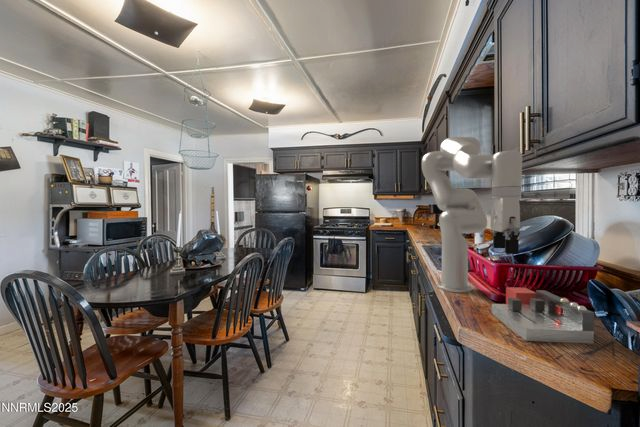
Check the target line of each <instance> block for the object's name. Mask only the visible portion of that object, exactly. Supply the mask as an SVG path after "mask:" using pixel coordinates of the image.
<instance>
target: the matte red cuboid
mask: <svg viewBox="0 0 640 427" xmlns="http://www.w3.org/2000/svg"><path fill="white" fill-rule="evenodd" d="M508 298H518V299H520V300H522V305H530V298H536V291H534V290H531V289H530V288H527V287H519V286H518V287H512V286H511V287H510V286H506V287H505V304H508Z"/></svg>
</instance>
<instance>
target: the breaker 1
mask: <svg viewBox="0 0 640 427" xmlns="http://www.w3.org/2000/svg"><path fill="white" fill-rule="evenodd" d="M508 308H509V309H511V310H512V311H522V300H520V299H518V298H508Z"/></svg>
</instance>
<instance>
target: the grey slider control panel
mask: <svg viewBox="0 0 640 427" xmlns="http://www.w3.org/2000/svg"><path fill="white" fill-rule="evenodd" d="M535 293H536V298H539V299H541V300H543V301H545V308H544V312H537V311H534V310H532V309H530V305H522V311H512V310H511V309H509V308H508V304H506V303H491V314H492V315H493V316H494V317H495V318H497V320H500V322H502V323H503V324H504V325H506V326H507V327H508V328H509V329H510V330H511V331H513V332H514V333H515V334H517V335H518V336H520V337H521V338H522V339H523V340H525V341H526V342H542V343H543V342H545V343H546V342H547V343H550V342H551V343H566V344H567V343H571V344H572V343H573V344H594V340H595V338H594V337H595V336H594V334H595V312H594V311H591V310H590V309H587V308H586V306H584V305H579V304H578V303H577V302H572V301H569V299H568V298H566V297H561V296H558V295H556V294H553V293H552V292H549V291H547V290H544V289H543V290H542V289H540V290H539V289H538V290H537V289H536V290H535Z"/></svg>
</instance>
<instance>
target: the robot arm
mask: <svg viewBox="0 0 640 427" xmlns="http://www.w3.org/2000/svg"><path fill="white" fill-rule="evenodd" d="M440 143H441V144H440V146H439V147H440V148H439V149H440V150H437V151H436V150H435V151H429V152H427V153H425V154H424V155H423V156H422V159H421V172H422V174H423V178H425V179H424V180H426V182H427V183H428V185H429V186H430V189H431V192H432V195H433V197H434V198H433V199H434V201H435V204H436V206H437V208H438V209H439V210H441V211H442V212H441V213H440V214H439V218H438V220H439V221H438V224H439V230H440V237H441V281H440V282H438V283H437V288H438V289H440V290H443V291H446V292H450V293H459V294H464V293H470V292H472V291H473V286H471V285H470V284H469V282H468V281H469V266H468V265H469V245H468V242H467V240H466V239H465V238H466V237H464V236H463V234H480V233H482V232H484V231H485V230H486V229H487V227H488V217H487V215H486V213H485V210H484V207H483V205H482V203H481V202H480V199H479V196H478V195H477V193H476V192H475V191H474V190H473V189H470V188H463V187H461V188H459V187H458V188H457V187H455V186H454V185H453V182H452V180H451V178H450V177H448V175H446V174H445V173H443V172H444V171H447V172H449V171H451V172H452V171H455V172H456V173H457V174H459V175H461V176H462V177H465V178H468V179H491V196H490V197H491V199H492V203H491V213H490V226H489V227H490V229H491V230H492V231H493V232H492V233H493V238H492V240H493V242H492V244H493V245H492V247H493V249H504V253H505V254H507V255H508V254H509V255H511V254H512V255H518V254H519V245H520V243H519V241H520V234H521V233H520V231H521V230H520V229H521V208H520V206H521V205H520V199H522V188H523V187H522V186H523V185H522V184H523V183H522V182H523V179H522V178H523V154H522V152H521V151H519V150H504V151H503V150H502V151H497V152H495V153H494V154H480V151H481V143H480V141H479V140H478V139H477V138H476V137H475V136H474V137H473V136H451V137H447V138H445V139H444V140H443V141H442V142H440ZM442 171H443V172H442Z"/></svg>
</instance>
